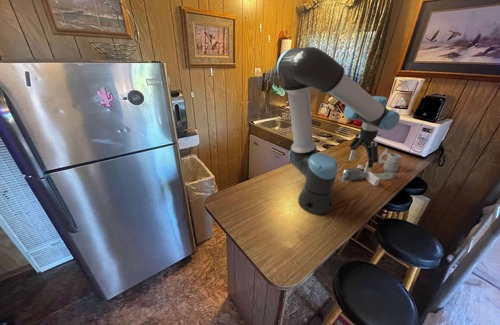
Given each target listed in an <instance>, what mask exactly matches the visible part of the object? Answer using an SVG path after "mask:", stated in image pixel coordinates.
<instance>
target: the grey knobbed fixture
mask: <svg viewBox="0 0 500 325" xmlns="http://www.w3.org/2000/svg"><path fill="white" fill-rule="evenodd" d="M347 169H348V168H344V169H343V171H342V175H340V176H337V177H338V179H339V180H340V181H341V182H343V183H347V182H350V181H349V180H348V179H347V178H346V177H347V174H348V170H347Z"/></svg>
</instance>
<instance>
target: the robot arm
mask: <svg viewBox="0 0 500 325" xmlns="http://www.w3.org/2000/svg"><path fill="white" fill-rule="evenodd" d="M277 60H278V61H277V63H276V73H277V75H278V77H279V78H280V79H281V81H282V87H283V91H284V92H285V93H287V97H288V98H287V99H288V105H289V106H288V107H289V114H290V122H291V132H292V140H293V142H292V144H291V145H290V150H289V152H288V160H289V162H290V164H291V165H292V166H293V167H294V168H296V169H297V170H298V171H299V173H300V174H301V175H303V176H304V177H305V182H304V186H303V189H301V191H300V193H299V195H298V199H297V202H298V205H299V207H301V209H302V210H304V211H306V212H308V213H309V214H315V215H325V214H328V213H330V211H332V208H333V197H332V190H333V187H334V183H335V180H336V177H337V174H338V167H339V166H338V162H337V161H336V160H335V158H333V157H332V156H331V155H328V154H327V155H326V154H325V153H320V152H317V143H316V142H315V141H314V140H313V138H314V137H313V127H312V126H313V123H312V109H311V108H312V107H311V92H310V89H311V88H314V89H316V90H318V91H320V92H321V93H323V94H327V93H328V94H330V96H332V97H333V98H334V99H336V100H338V101H340V103H342V104H343V105H344V106H345V107H344V111H343V115H344V118H345V119H346V120H349V121H355V120H357V121H360V122H362V124H361V128H360V132H359V133H356V135H355V137H354V139H353V140H352V141H351V143H350V144H349V148H350V155H349V159H348V161H355V159H356V158H355V157H356V155H357V154H356V153H357V151H358V150H357V149H358V148H360V147H361V146H363V147H364V149H365V150H366V154H367V158H368V160H367V161H366V164H365V167H364V168H365V170H364V172H365V173H367V172H370V171H371V170H372V168H373V166H374V163H379V154H378V153H379V152H378V148H379V142H378V141H377V142H376V141H374V140H375V139H376V138H377V135H378V132H379V129H380V130H385V131H391V130H393V129H394V128H395V127H397V125H398V123H399V122H400V118H401V117H400V114H399V112H397V111H396V110H395V111H394V110H392V109H388V108H387V106H388V105H387V104H388V98H387V97H385V96H380V95H373V96H372V95H371V94H369V92H367V90H365V89H364V88H362V86H360V85H359V84H358V83H356V82H355V81H354V80H353V79H352V78H351V77H349V76H348V75H347V74H346V73H345V72H346V71H345V68H344V66H342V65H341V64H340V63H339V62H338V61H336V60H335V59H334V58H333V57H332V56H331V55H329V54H328V53H326V52H325V51H323V50H322V49H320V48H318V47H315V46H314V47H313V46H306V47H292V48H290V49H286V50H285V51H284V52H283V53H282V54H280V56H279V58H278V59H277Z"/></svg>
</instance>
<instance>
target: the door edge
mask: <svg viewBox="0 0 500 325" xmlns="http://www.w3.org/2000/svg"><path fill="white" fill-rule="evenodd" d="M360 167H364V166H363V165H361V164H358V165H357V166H356V168H360ZM364 169H365V167H364ZM371 172H372V171H371ZM371 172H367V173H365V176H364V178H365V180H366V181H367V182H369V183H370V184H371V185H372V186H374V187H375V186H378V185H379V183H380V181H381V180H380V179H379V178H377V177H376V176H375V175H373V174H372V173H373V172H372V173H371Z"/></svg>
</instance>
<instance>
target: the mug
mask: <svg viewBox="0 0 500 325" xmlns="http://www.w3.org/2000/svg"><path fill="white" fill-rule="evenodd" d="M386 155H387V156H386ZM384 156H386V160H384ZM402 158H403V157H402V155H401V154H398V153H396V152H389V149H388V148H385V149H384V151H383V152H382V153H381V154H380V155H379V156H378V163H379V164H380V165H381V164H383V165H382V166H383V168H382V169H383V170H384V171H385V169H389V170H391V171H392V172H394V173H396V172H397V171H399V165H400V164H401V160H402Z"/></svg>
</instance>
